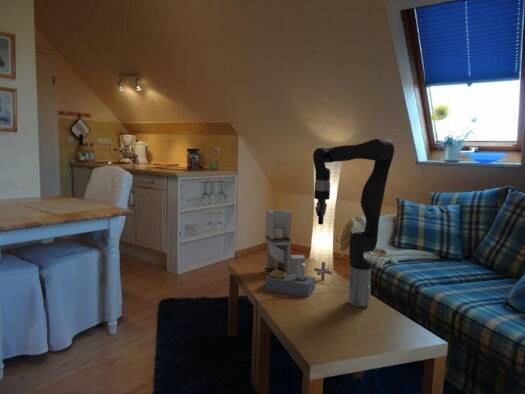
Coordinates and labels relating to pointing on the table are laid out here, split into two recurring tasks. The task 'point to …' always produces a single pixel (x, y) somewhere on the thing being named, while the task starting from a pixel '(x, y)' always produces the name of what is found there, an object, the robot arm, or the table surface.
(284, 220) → the display case
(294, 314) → the table surface
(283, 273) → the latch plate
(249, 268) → the table surface
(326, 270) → the pipe connector
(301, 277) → the steel pin
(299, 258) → the supplement box
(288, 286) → the pin block
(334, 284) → the table surface
